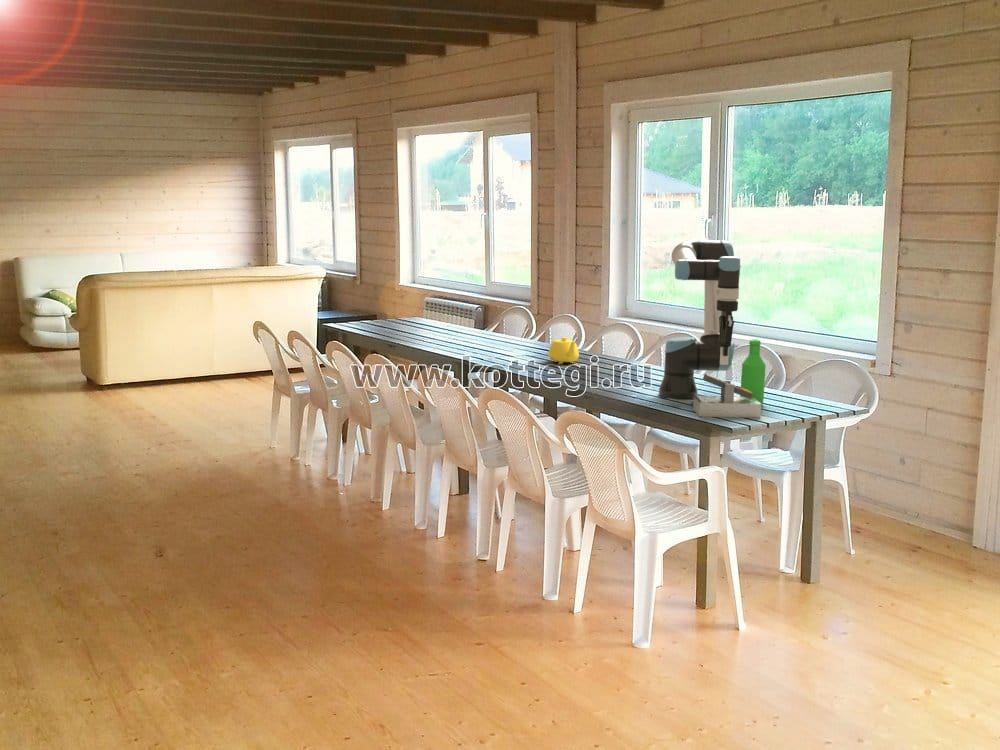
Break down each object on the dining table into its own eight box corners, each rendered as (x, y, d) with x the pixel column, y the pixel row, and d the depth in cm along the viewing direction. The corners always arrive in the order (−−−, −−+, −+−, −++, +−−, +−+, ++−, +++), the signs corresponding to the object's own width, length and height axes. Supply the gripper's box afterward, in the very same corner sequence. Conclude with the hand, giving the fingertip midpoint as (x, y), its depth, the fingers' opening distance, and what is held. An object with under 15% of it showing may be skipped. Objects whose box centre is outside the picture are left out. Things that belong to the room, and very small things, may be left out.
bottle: (736, 402, 392) (740, 338, 388) (758, 402, 393) (762, 338, 389) (743, 406, 384) (747, 341, 379) (766, 406, 384) (770, 341, 380)
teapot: (562, 367, 470) (562, 340, 468) (541, 361, 488) (542, 335, 486) (587, 365, 476) (587, 339, 474) (566, 359, 494) (566, 334, 492)
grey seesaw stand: (693, 408, 378) (694, 378, 376) (752, 410, 378) (754, 380, 376) (699, 416, 364) (700, 385, 362) (760, 417, 364) (762, 386, 362)
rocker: (702, 378, 372) (705, 372, 371) (747, 396, 372) (750, 391, 372) (705, 380, 366) (707, 375, 366) (750, 399, 367) (753, 393, 367)
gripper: (713, 297, 370) (709, 361, 375) (721, 301, 358) (717, 367, 362) (733, 298, 371) (729, 361, 375) (742, 301, 358) (738, 367, 362)
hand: (723, 364), depth 368 cm, fingers closed
